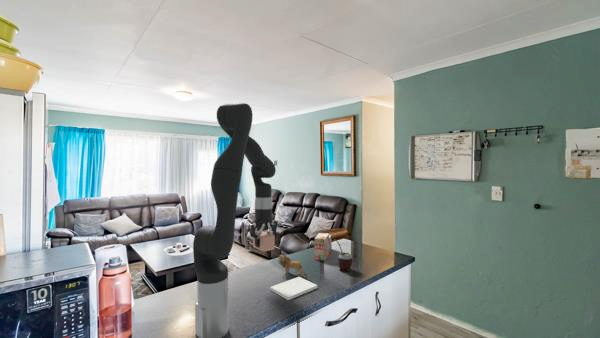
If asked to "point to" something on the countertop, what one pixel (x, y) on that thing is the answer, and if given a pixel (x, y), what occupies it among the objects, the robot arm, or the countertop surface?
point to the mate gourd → (344, 260)
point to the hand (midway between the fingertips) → (263, 245)
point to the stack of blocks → (322, 246)
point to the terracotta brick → (265, 242)
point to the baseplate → (293, 288)
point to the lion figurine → (290, 265)
